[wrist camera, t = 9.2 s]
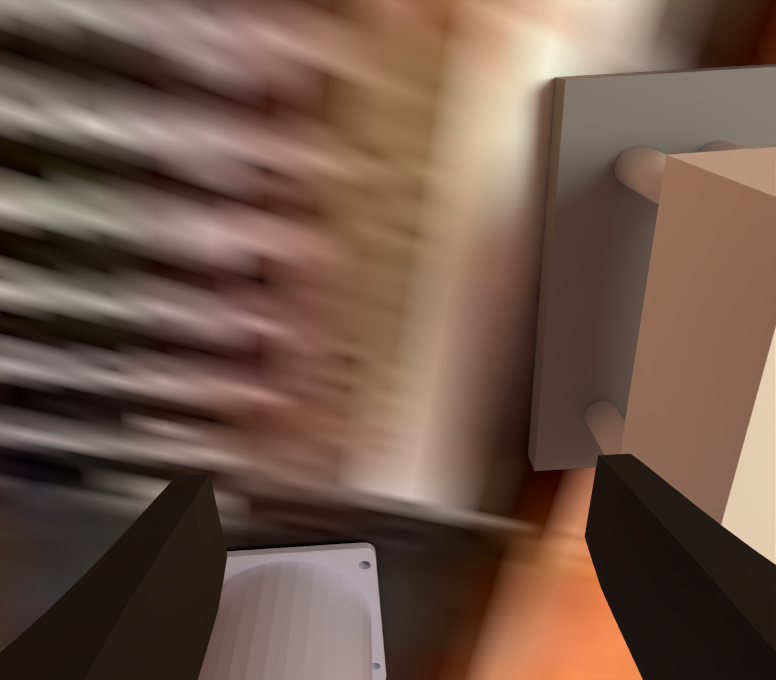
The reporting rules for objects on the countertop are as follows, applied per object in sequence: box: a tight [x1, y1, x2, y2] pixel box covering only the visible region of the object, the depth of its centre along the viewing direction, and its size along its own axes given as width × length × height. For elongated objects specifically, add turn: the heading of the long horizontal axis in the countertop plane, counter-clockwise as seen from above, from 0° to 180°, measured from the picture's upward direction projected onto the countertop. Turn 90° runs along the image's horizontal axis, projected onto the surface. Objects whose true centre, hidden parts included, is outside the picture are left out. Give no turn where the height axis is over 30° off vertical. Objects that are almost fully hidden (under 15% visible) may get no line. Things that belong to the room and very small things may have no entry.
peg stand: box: [528, 64, 776, 471], centre depth 18 cm, size 14×7×4 cm, turn 3°
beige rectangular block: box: [620, 147, 776, 564], centre depth 14 cm, size 11×4×5 cm, turn 3°
